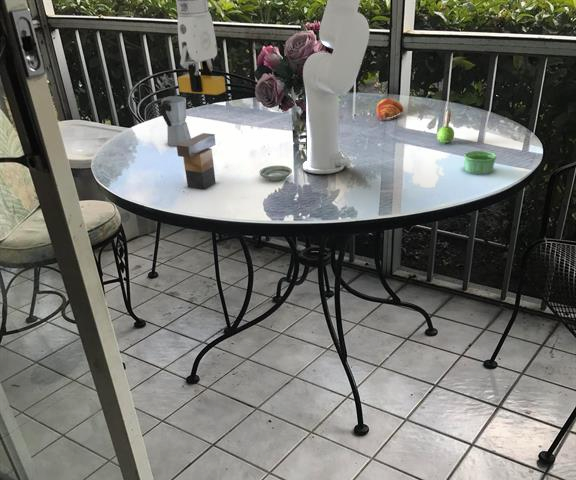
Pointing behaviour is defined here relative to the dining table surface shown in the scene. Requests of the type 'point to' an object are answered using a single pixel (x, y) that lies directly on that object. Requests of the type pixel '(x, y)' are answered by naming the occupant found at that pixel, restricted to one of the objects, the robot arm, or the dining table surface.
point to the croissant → (388, 108)
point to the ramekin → (479, 162)
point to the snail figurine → (446, 129)
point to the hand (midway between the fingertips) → (202, 89)
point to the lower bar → (196, 145)
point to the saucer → (275, 172)
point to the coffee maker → (175, 118)
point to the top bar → (203, 84)
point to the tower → (200, 170)
